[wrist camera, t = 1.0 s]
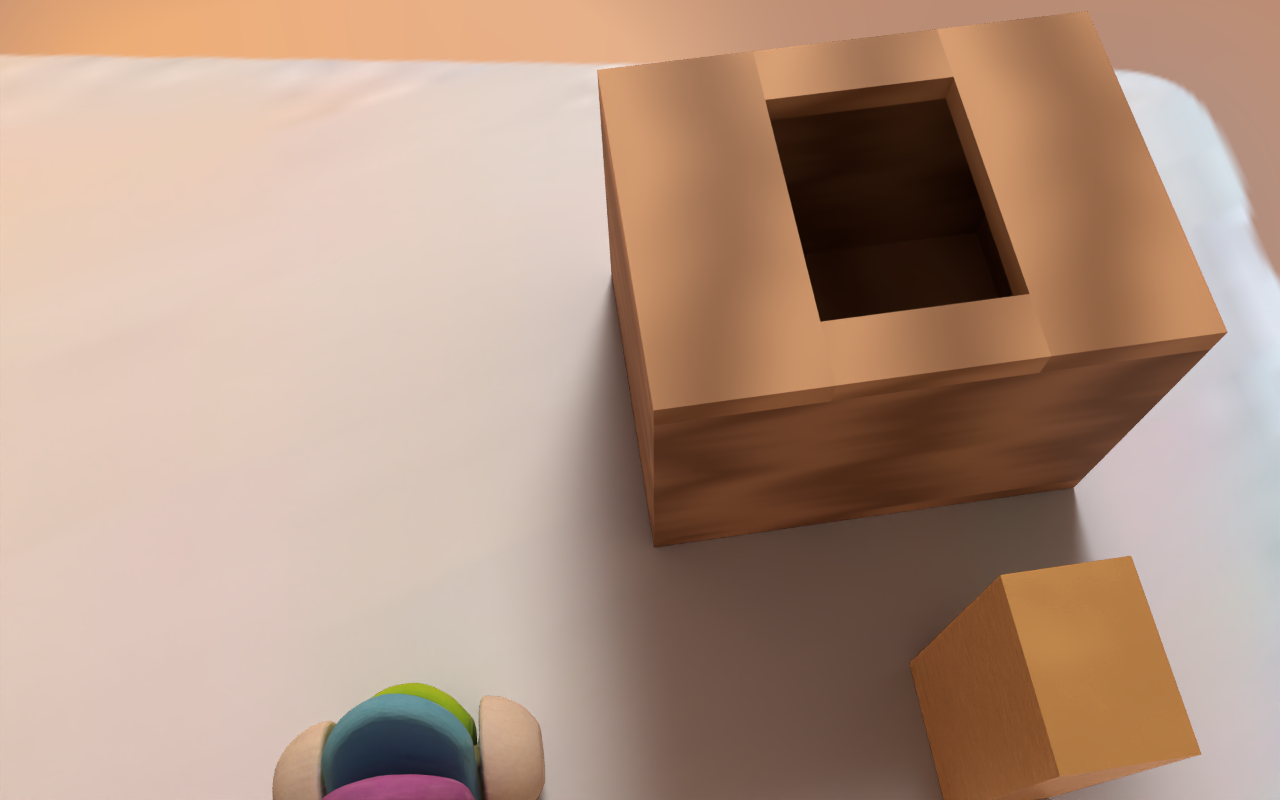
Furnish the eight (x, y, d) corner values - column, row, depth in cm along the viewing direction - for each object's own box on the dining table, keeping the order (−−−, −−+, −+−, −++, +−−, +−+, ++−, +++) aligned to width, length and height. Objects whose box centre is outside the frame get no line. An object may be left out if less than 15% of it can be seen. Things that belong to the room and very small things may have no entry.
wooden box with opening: (654, 546, 40) (653, 410, 29) (611, 273, 45) (597, 69, 34) (1073, 487, 40) (1227, 332, 30) (984, 225, 45) (1087, 10, 35)
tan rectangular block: (946, 813, 36) (1060, 776, 26) (909, 663, 38) (1000, 574, 28) (1049, 797, 36) (1201, 754, 26) (1006, 648, 38) (1131, 555, 28)
